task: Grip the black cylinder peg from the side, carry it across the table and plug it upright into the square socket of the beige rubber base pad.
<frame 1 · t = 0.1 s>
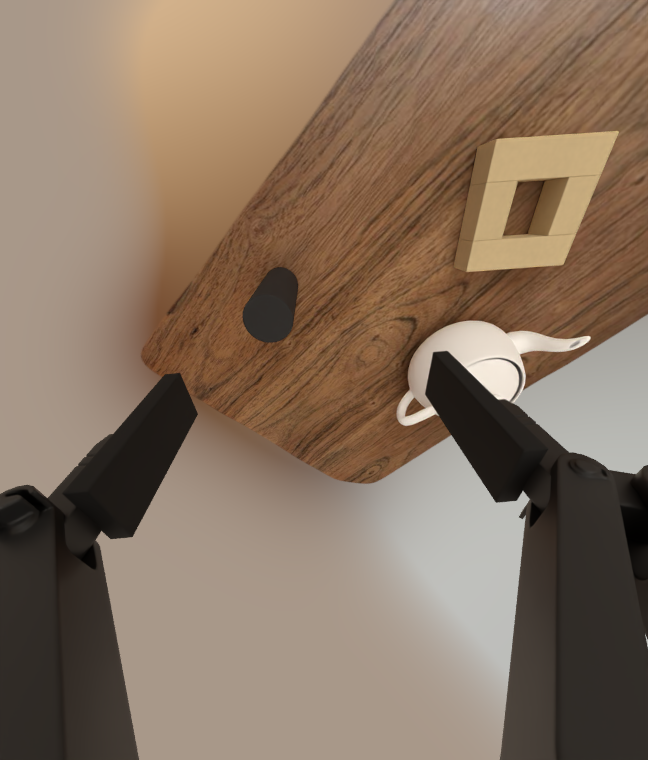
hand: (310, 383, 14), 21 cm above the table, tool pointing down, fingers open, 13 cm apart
base pad: (513, 210, 28), on the table
teapot: (452, 355, 37), on the table
black cylinder peg: (281, 285, 31), on the table
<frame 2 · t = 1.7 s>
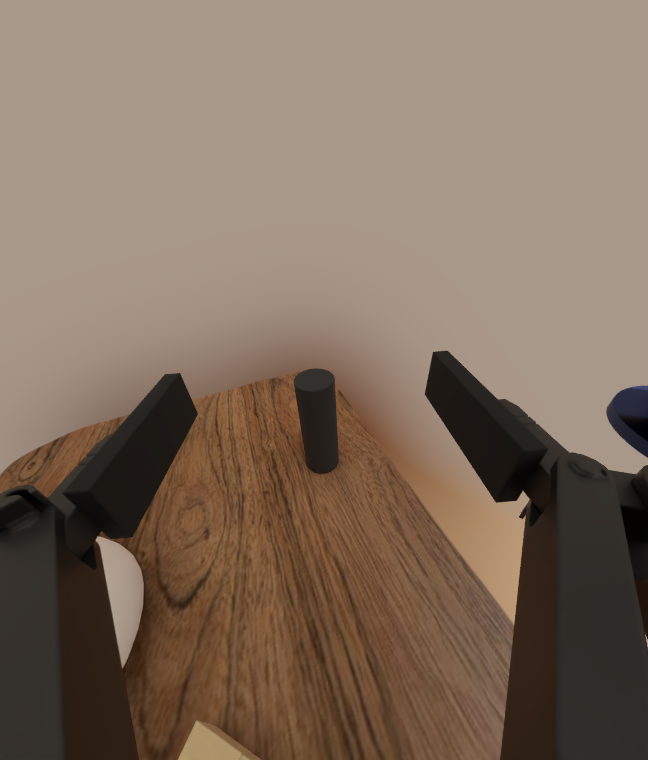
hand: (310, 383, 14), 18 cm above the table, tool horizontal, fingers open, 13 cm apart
teapot: (46, 683, 18), on the table
black cylinder peg: (322, 459, 32), on the table
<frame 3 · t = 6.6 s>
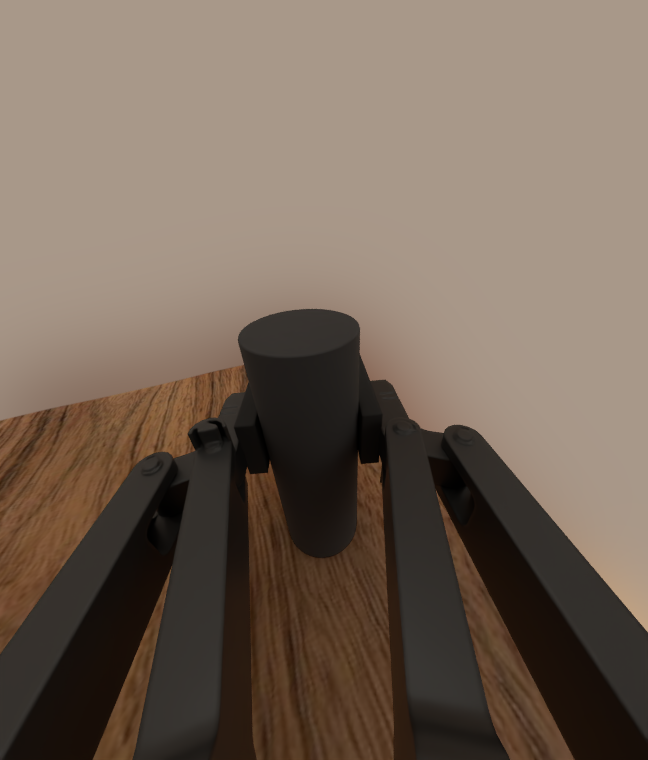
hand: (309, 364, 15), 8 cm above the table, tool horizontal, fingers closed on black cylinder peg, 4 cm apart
black cylinder peg: (322, 519, 15), on the table, touching gripper
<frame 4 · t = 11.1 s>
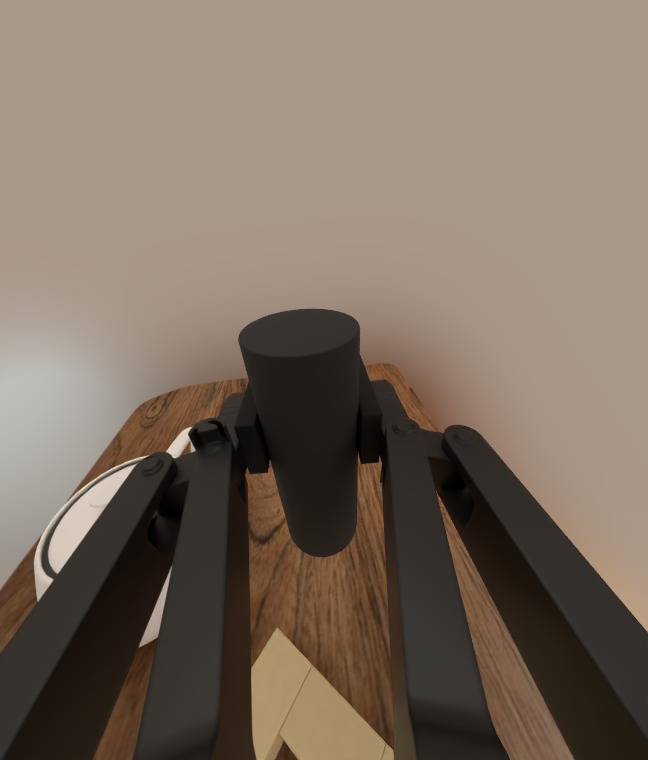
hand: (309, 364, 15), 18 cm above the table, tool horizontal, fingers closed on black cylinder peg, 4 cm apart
teapot: (165, 567, 23), on the table
black cylinder peg: (322, 519, 15), point 11 cm above the table, touching gripper
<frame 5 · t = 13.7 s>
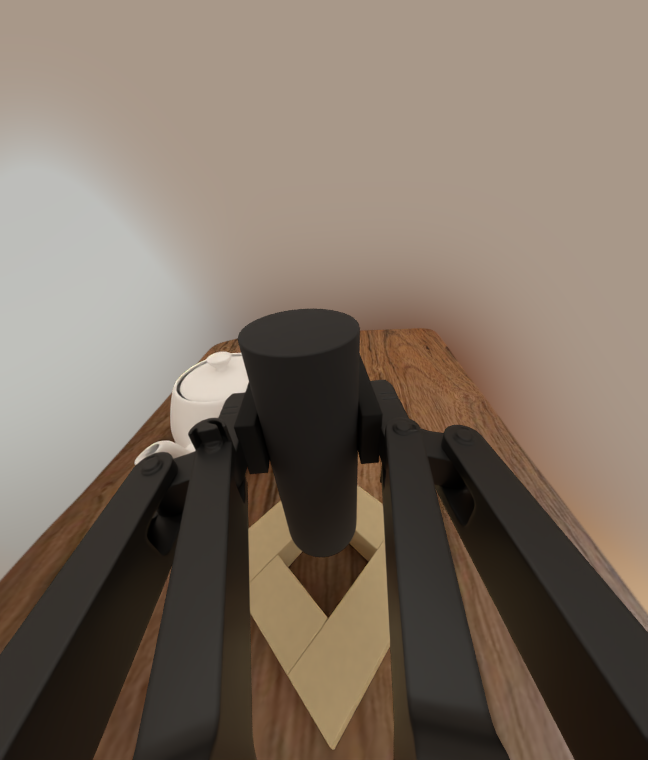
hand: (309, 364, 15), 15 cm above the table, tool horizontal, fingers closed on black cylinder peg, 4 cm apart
base pad: (329, 570, 19), on the table
teapot: (240, 437, 31), on the table
black cylinder peg: (322, 519, 15), point 7 cm above the table, touching gripper
when the fingers open (8 cm above the table, at t = 15.9 s): black cylinder peg stays where it is, resting in base pad.
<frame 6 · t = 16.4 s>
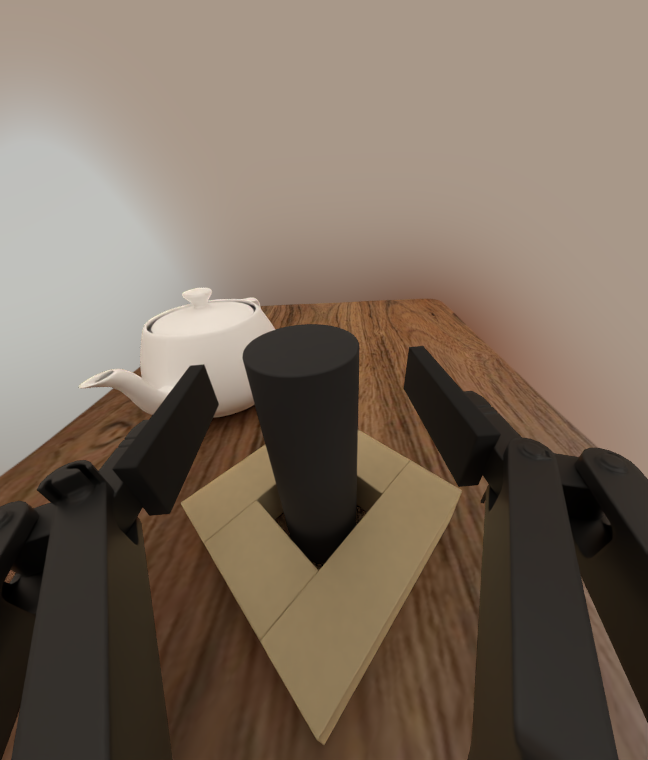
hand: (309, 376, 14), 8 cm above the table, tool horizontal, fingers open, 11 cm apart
base pad: (322, 525, 15), on the table
teapot: (225, 394, 28), on the table
black cylinder peg: (322, 525, 15), resting in base pad
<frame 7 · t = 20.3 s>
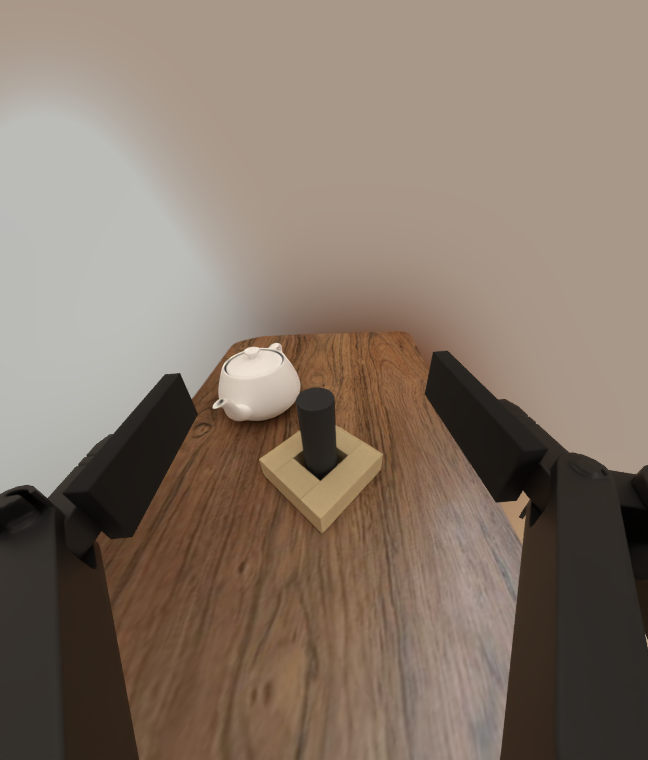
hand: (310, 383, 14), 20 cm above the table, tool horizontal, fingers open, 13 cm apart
base pad: (322, 472, 33), on the table
teapot: (262, 406, 45), on the table
black cylinder peg: (322, 472, 33), resting in base pad
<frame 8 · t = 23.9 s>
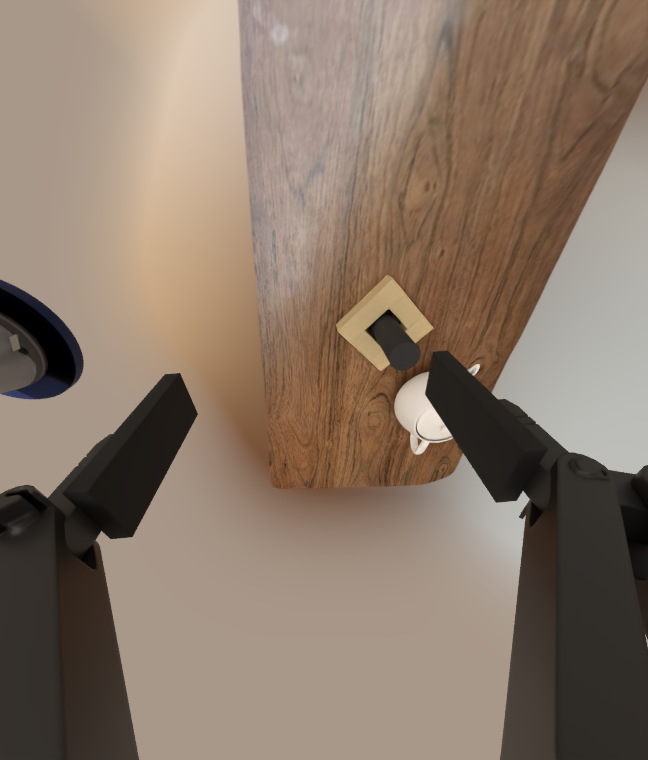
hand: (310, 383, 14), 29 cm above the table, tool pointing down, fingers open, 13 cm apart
base pad: (381, 322, 43), on the table
teapot: (425, 389, 51), on the table
black cylinder peg: (381, 322, 43), resting in base pad
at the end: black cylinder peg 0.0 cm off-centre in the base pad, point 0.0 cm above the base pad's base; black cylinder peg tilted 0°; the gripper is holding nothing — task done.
